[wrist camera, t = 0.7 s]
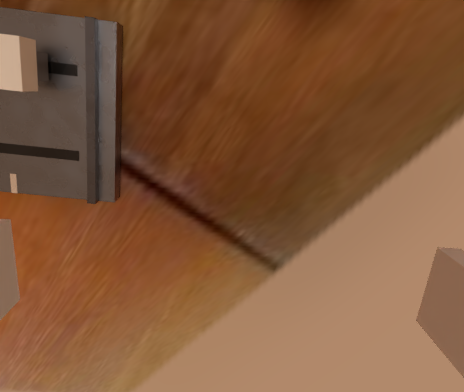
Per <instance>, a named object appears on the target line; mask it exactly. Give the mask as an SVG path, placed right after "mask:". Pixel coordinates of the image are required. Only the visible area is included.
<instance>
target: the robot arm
mask: <svg viewBox="0 0 464 392" xmlns="http://www.w3.org/2000/svg"><path fill="white" fill-rule="evenodd" d="M19 300H20V296H19V287H18V279H17V270H16V262H15V253H14V245H13V236H12V228H11V220H10V219H0V320H1V319H2V318H3V317H4V316H5V315H6V314H7V313H8V312H9V311H10V310H11V308H12V307H13V306H14V305H15V304H16V303H17V302H18V301H19ZM416 321H417V322H418V323H419V325H420V326H421V327H422V328H423V329H424V331H425V332H426V333H427V334H428V335H429V337H430V338H431V339H432V340H433V341H434V343H435V344H436V345H437V346H438V347H439V349H440V350H441V351H442V352H443V353H444V355H445V356H446V357H447V358H448V359H449V361H450V362H451V363H452V364H453V365H454V367H455V368H456V369H457V370H458V371H459V373H460V374H461V375H462V376H463V377H464V251H463V250H462V249H454V248H440V247H438V248H437V250H436V254H435V257H434V261H433V264H432V268H431V271H430V275H429V278H428V281H427V286H426V288H425V292H424V295H423V299H422V302H421V306H420V309H419V313H418V316H417V319H416Z"/></svg>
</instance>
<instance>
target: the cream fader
mask: <svg viewBox="0 0 464 392" xmlns="http://www.w3.org/2000/svg"><path fill="white" fill-rule="evenodd" d="M38 81H49V75H48V53H44V52H39V51H36V40H33V39H29V38H25V37H21V36H16V35H8V34H0V89H3V90H11V91H20V92H32V91H38Z"/></svg>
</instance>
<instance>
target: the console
mask: <svg viewBox="0 0 464 392" xmlns="http://www.w3.org/2000/svg"><path fill="white" fill-rule="evenodd" d="M0 34H8V35H16V36H21V37H25V38H29V39H33V40H36V51H39V52H44V53H48V75H49V81H38V91H32V92H20V91H11V90H3V89H0V191H3V192H11V193H24V194H34V195H45V196H55V197H65V198H76V199H86V200H87V203H91V204H96V203H97V202H98V201H107V202H115V201H116V200H117V199H118V198H119V197H120V164H121V105H122V45H123V26H122V25H120V24H119V23H117V22H111V21H104V20H98V19H96V18H93V17H85V18H80V17H73V16H65V15H57V14H49V13H42V12H34V11H26V10H18V9H11V8H3V7H0Z"/></svg>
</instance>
